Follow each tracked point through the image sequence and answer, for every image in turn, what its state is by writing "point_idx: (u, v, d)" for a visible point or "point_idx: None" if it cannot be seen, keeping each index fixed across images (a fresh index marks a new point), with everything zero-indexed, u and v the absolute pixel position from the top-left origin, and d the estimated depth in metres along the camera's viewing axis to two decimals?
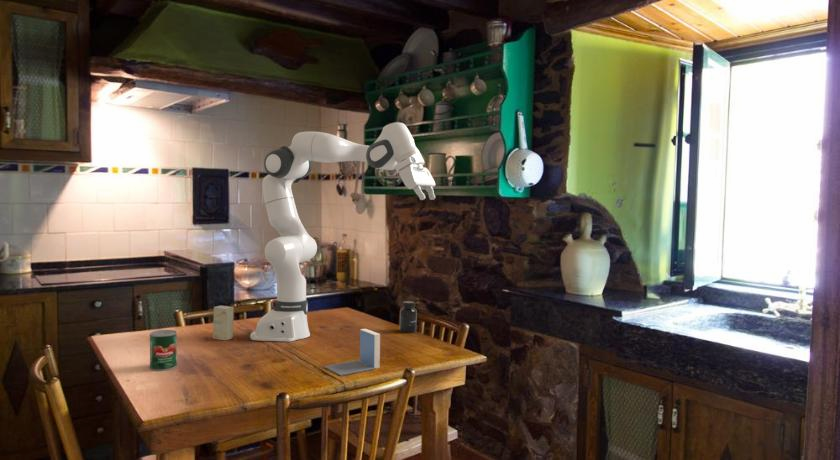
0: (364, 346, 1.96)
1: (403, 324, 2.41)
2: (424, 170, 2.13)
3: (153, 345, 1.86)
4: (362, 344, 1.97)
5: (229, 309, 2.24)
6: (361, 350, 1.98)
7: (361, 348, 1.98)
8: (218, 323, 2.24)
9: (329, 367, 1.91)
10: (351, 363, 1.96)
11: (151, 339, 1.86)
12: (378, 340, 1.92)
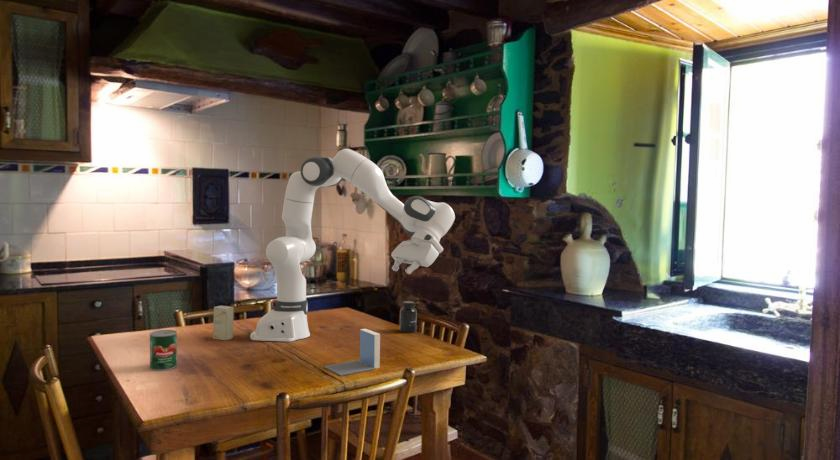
0: (364, 346, 1.96)
1: (403, 324, 2.41)
2: None
3: (153, 345, 1.86)
4: (362, 344, 1.97)
5: (229, 309, 2.24)
6: (361, 350, 1.98)
7: (361, 348, 1.98)
8: (218, 323, 2.24)
9: (329, 367, 1.91)
10: (351, 363, 1.96)
11: (151, 339, 1.86)
12: (378, 340, 1.92)
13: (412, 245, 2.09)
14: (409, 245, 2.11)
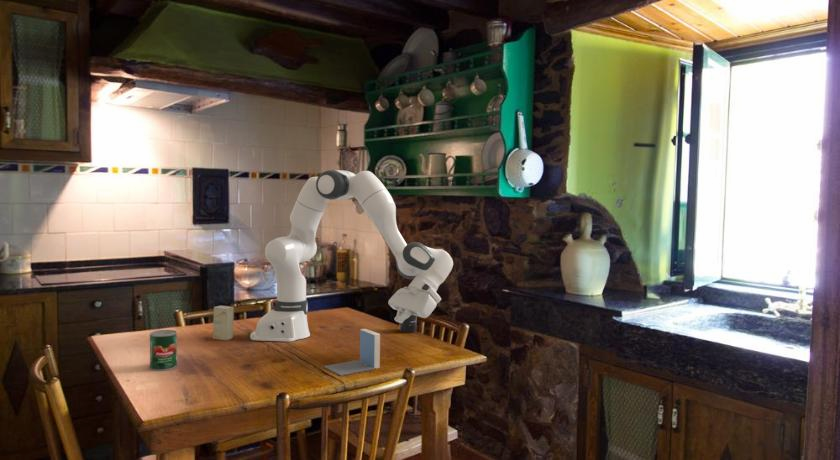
0: (364, 346, 1.96)
1: (403, 324, 2.41)
2: None
3: (153, 345, 1.86)
4: (362, 344, 1.97)
5: (229, 309, 2.24)
6: (361, 350, 1.98)
7: (361, 348, 1.98)
8: (218, 323, 2.24)
9: (329, 367, 1.91)
10: (351, 363, 1.96)
11: (151, 339, 1.86)
12: (378, 340, 1.92)
13: (409, 294, 2.06)
14: (406, 293, 2.07)
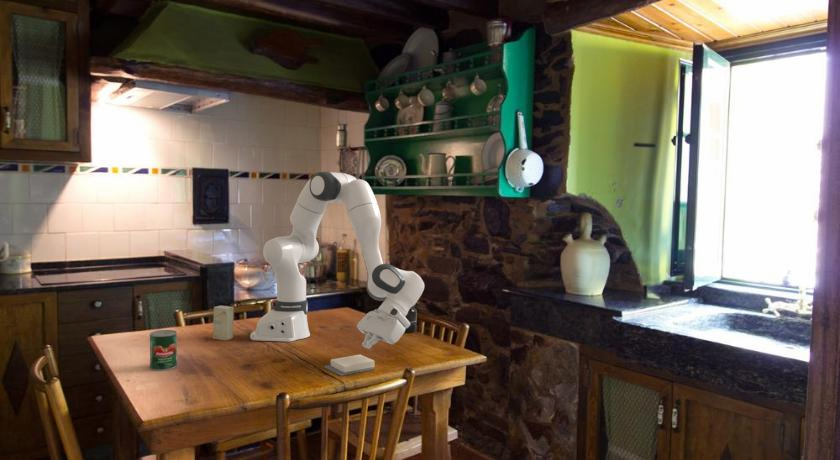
0: None
1: None
2: None
3: (153, 345, 1.86)
4: None
5: (229, 309, 2.24)
6: None
7: None
8: (218, 323, 2.24)
9: (329, 367, 1.91)
10: None
11: (151, 339, 1.86)
12: (350, 367, 1.86)
13: (378, 318, 1.99)
14: (375, 317, 2.00)
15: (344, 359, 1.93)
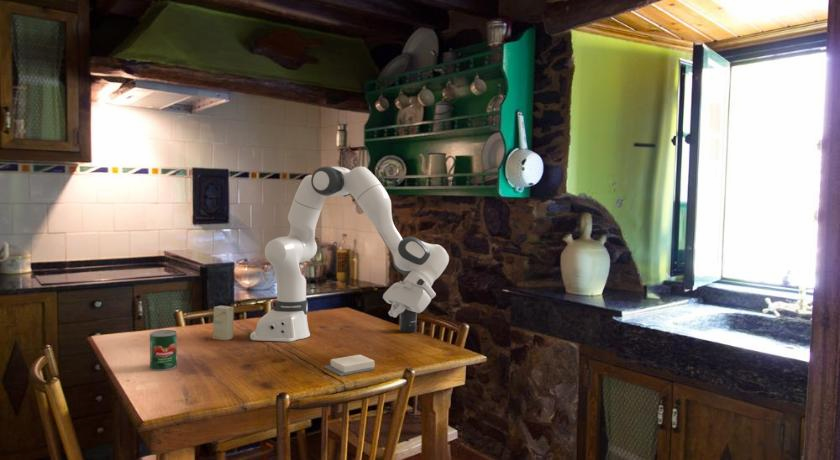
0: None
1: (403, 324, 2.41)
2: None
3: (153, 345, 1.86)
4: None
5: (229, 309, 2.24)
6: None
7: None
8: (218, 323, 2.24)
9: (329, 367, 1.91)
10: None
11: (151, 339, 1.86)
12: (350, 367, 1.86)
13: (404, 288, 2.05)
14: (401, 288, 2.07)
15: (344, 359, 1.93)
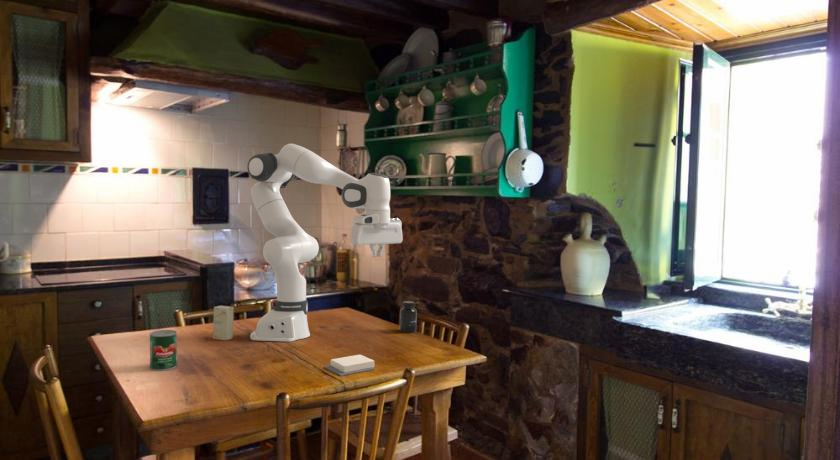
0: None
1: (403, 324, 2.41)
2: (390, 227, 2.17)
3: (153, 345, 1.86)
4: None
5: (229, 309, 2.24)
6: None
7: None
8: (218, 323, 2.24)
9: (329, 367, 1.91)
10: None
11: (151, 339, 1.86)
12: (350, 367, 1.86)
13: None
14: None
15: (344, 359, 1.93)
